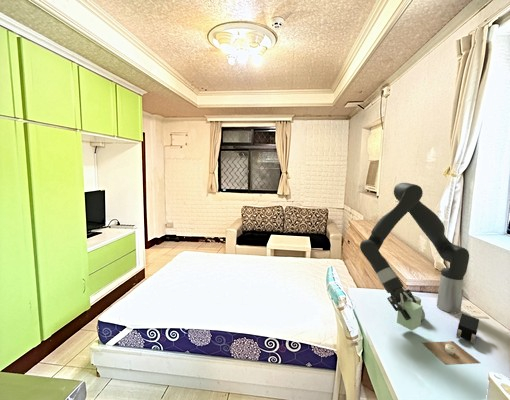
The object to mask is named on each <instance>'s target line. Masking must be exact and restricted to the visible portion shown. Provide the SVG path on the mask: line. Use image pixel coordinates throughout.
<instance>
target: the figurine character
mask: <svg viewBox="0 0 510 400" xmlns="http://www.w3.org/2000/svg"><path fill="white" fill-rule="evenodd" d="M479 323H480V319H479V318H476V317H474V316H470V315H468V314H465V313H461V315H460V319H459V321H458V326H457V329H456V337H455V338H456V339H459V340H461V339H464V340H466V341H469V342H470V343H471V344H473V345H474V344H475V342H476V340H477V339H478V336H477V333H478V328H479Z"/></svg>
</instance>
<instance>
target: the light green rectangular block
mask: <svg viewBox="0 0 510 400" xmlns="http://www.w3.org/2000/svg"><path fill="white" fill-rule="evenodd" d="M403 306H404V308H405V310H406V311H407V313H408V314H409V316H410V317H411V319H409V320H406V319H405V318H404V317H403V315H402V314H401V312H399V311H397V318H396V323H397V324H398V325H400V326H402V327H404V328H406V329H408V330H410V331H414V330H416V329H417V328H420V327H421V324H422V320H421V316H422V309H423V305H419V304H416V303H414V302H412V301H411V302H410V301H408V300H407V301H404V305H403ZM400 307H401V305H400Z"/></svg>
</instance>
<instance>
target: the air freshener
mask: <svg viewBox="0 0 510 400" xmlns="http://www.w3.org/2000/svg"><path fill="white" fill-rule="evenodd" d="M412 295H413V294H412ZM413 296H414V298H415V300H416V304H419V305H421V304H422V299H421V298H420V297H419V296H416V295H413ZM411 300H412V298H411ZM412 301H413V300H412ZM421 306H422V305H421ZM425 319H426V313H425V311H424V309H423V308H422V316H421V321H423V320H425Z"/></svg>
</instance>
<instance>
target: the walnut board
mask: <svg viewBox="0 0 510 400" xmlns="http://www.w3.org/2000/svg"><path fill="white" fill-rule="evenodd" d="M421 344H422V345H423V346H424V347H426V348H427V349H428V350H429V351H430V352H431V353H432V354H434V356H435V357H436V358H438V359H439V360H440V361H441V362H442V363H443V364H444V365H445V366H447V365H449V366H450V365H467V364H469V365H470V364H471V365H472V364H481V361H479V360H478V359H476V358H475V357H474V356H472V355H471V354H470V353H469V352H467V350H465V349H464V348H462V347H461V346H460V345H459V344H457V343H456V342H455V341H452V340H451V341H450V340H449V341H430V342H429V341H425V342H424V341H423V342H422V341H421ZM446 344H449V345H452V346H454V347H455V353H454V355H450V354H448V353H446V352H445V345H446Z"/></svg>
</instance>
